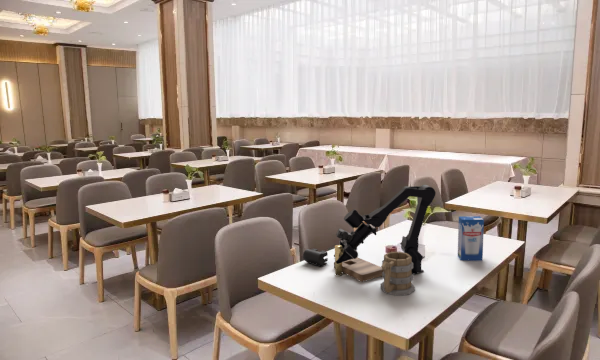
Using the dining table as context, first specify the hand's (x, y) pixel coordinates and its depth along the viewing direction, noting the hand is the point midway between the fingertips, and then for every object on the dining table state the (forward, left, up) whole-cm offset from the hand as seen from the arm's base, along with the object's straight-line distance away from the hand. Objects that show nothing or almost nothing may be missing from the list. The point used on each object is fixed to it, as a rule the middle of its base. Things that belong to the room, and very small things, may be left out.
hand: (335, 259), depth 190 cm
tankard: (-29, -7, -7) cm, 30 cm away
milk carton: (-22, -64, -7) cm, 68 cm away
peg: (-1, -1, -7) cm, 7 cm away
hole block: (-4, -10, -7) cm, 13 cm away
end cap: (+16, 0, -7) cm, 18 cm away
